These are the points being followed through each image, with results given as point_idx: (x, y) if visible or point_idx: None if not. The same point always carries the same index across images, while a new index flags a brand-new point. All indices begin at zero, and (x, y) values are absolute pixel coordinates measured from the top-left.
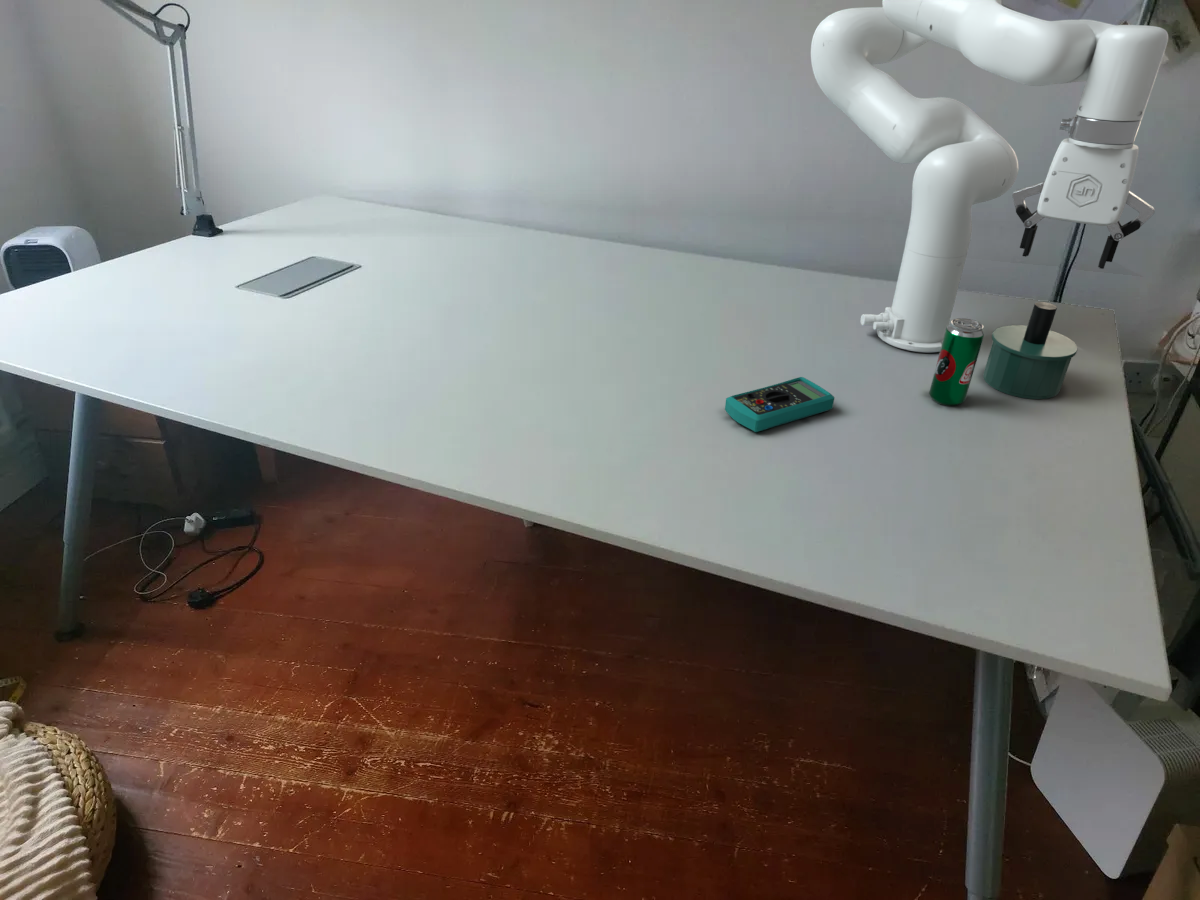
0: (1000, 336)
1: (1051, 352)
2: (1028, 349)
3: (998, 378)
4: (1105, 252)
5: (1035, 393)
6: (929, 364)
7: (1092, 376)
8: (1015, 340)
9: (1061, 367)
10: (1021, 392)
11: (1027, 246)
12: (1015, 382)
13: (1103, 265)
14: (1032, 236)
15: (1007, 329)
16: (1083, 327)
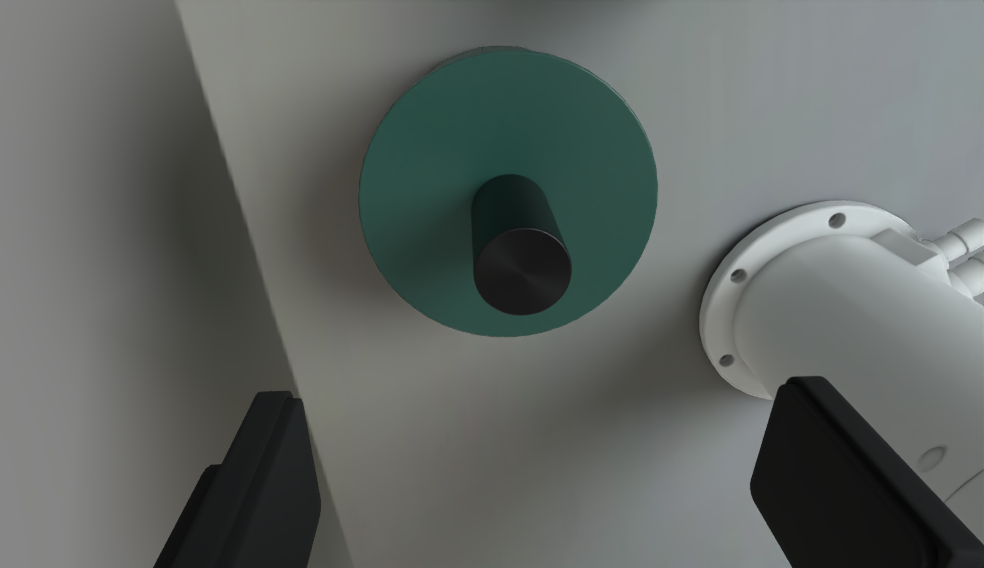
0: (630, 177)
1: (438, 123)
2: (521, 101)
3: None
4: (242, 479)
5: (448, 59)
6: (766, 142)
7: (331, 316)
8: (574, 168)
9: None
10: (489, 47)
11: (850, 421)
12: (518, 49)
13: (260, 401)
14: (890, 499)
15: (608, 260)
16: (404, 565)
